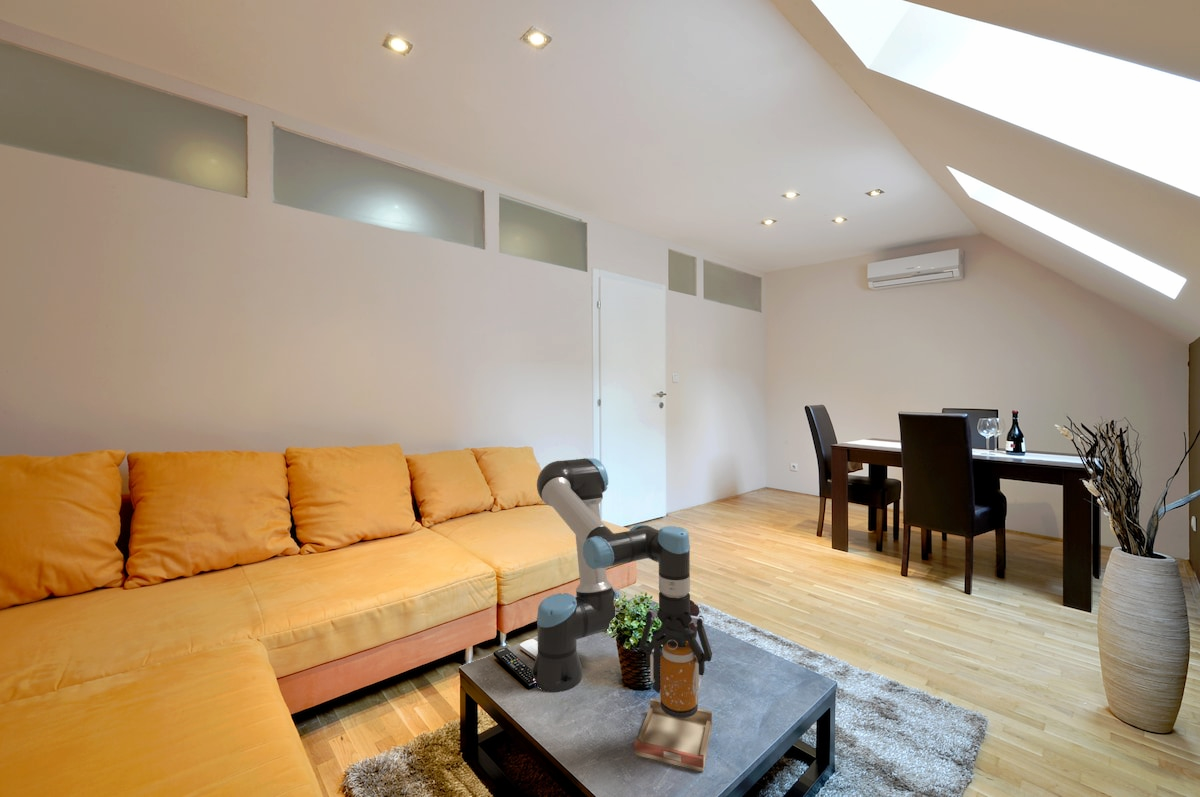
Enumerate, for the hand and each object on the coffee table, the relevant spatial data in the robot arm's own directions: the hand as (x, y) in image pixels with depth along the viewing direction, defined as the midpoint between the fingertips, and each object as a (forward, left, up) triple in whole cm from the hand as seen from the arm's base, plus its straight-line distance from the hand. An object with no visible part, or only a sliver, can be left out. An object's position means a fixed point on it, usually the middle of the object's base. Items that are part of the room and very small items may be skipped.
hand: (675, 682), depth 118 cm
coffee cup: (-6, +45, -15) cm, 47 cm away
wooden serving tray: (0, 0, -15) cm, 15 cm away
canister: (0, 0, -7) cm, 7 cm away
